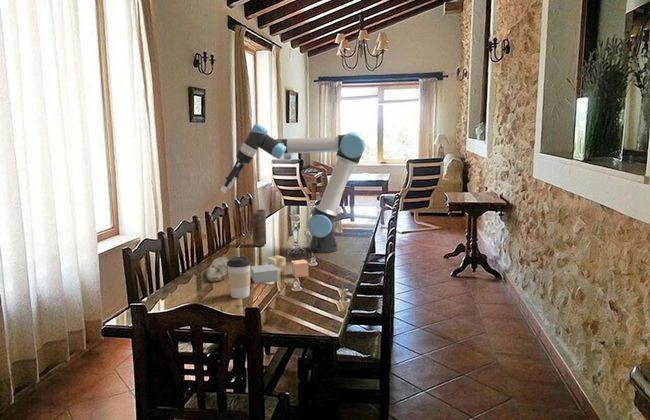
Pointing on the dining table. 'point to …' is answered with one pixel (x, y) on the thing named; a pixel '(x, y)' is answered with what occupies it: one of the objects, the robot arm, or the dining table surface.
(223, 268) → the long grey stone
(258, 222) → the candle
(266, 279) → the slate base
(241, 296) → the coffee cup
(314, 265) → the dining table surface
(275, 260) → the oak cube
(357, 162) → the robot arm
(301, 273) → the terracotta cube
